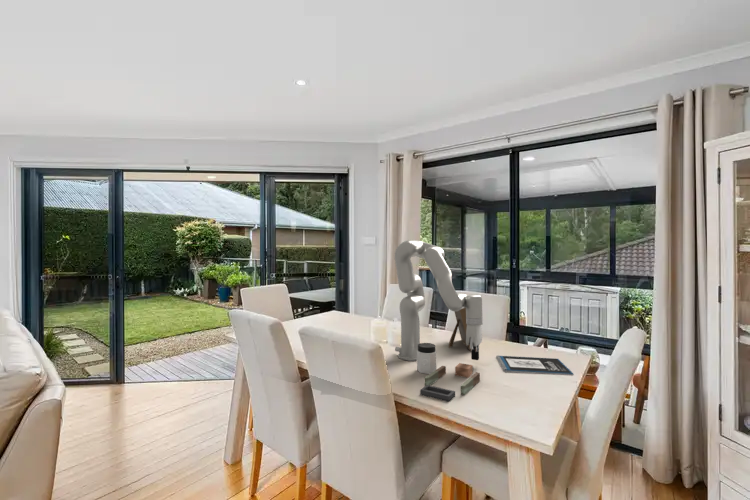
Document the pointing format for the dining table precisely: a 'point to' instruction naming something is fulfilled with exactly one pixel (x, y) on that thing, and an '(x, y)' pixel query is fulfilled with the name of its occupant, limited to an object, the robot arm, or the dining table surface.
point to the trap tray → (437, 393)
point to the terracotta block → (464, 370)
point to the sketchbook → (532, 365)
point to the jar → (426, 358)
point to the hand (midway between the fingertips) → (475, 359)
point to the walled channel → (442, 371)
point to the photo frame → (460, 327)
